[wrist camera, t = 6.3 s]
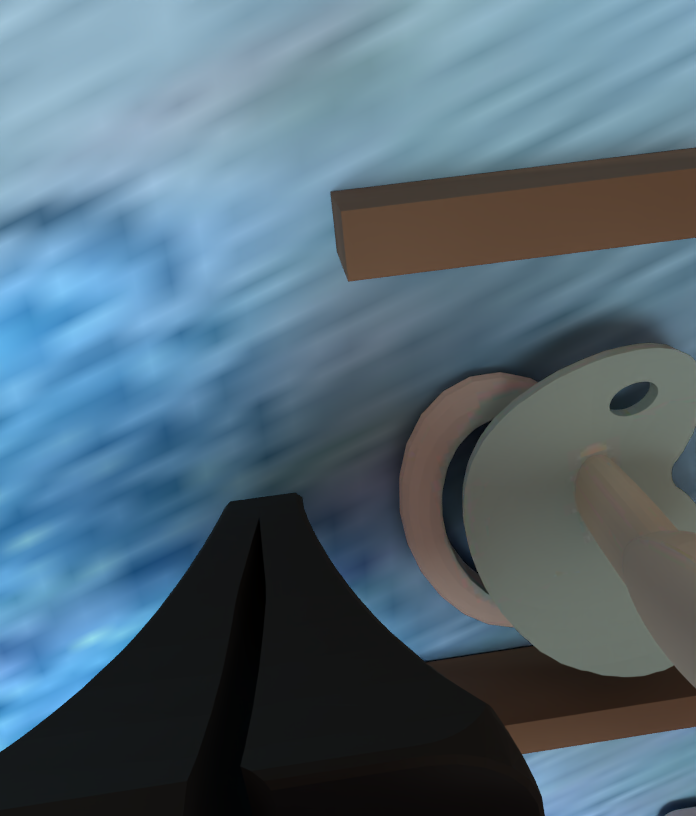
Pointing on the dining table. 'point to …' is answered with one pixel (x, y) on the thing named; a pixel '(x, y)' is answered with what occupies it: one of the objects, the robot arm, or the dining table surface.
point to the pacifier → (567, 509)
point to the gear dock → (515, 240)
